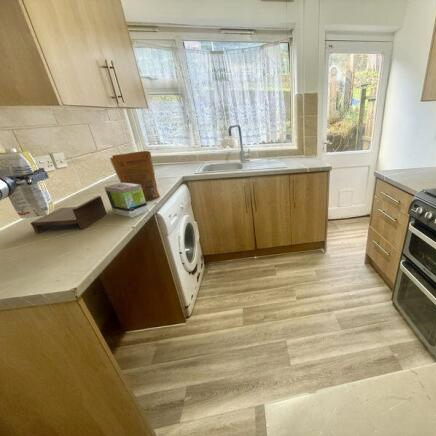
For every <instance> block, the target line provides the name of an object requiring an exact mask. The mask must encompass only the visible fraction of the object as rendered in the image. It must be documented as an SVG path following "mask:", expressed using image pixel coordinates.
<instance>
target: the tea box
mask: <svg viewBox="0 0 436 436" xmlns="http://www.w3.org/2000/svg"><path fill="white" fill-rule="evenodd" d="M104 190H105V193H106V195H107V199H108V201H109V205H110V207H111V209H112V211H113V214H116V215H119V216H123V217H127V218H130V219H132V218H135V217H138V216H140V215H142V214H144V213H147V212H149V207H148V204H147V201H146V200H145V197H144V194H143V191H142V187H141V185H140V184H133V183H125V182H123V183H121V182H119V183H115V184H111V185H107V186H104Z"/></svg>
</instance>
